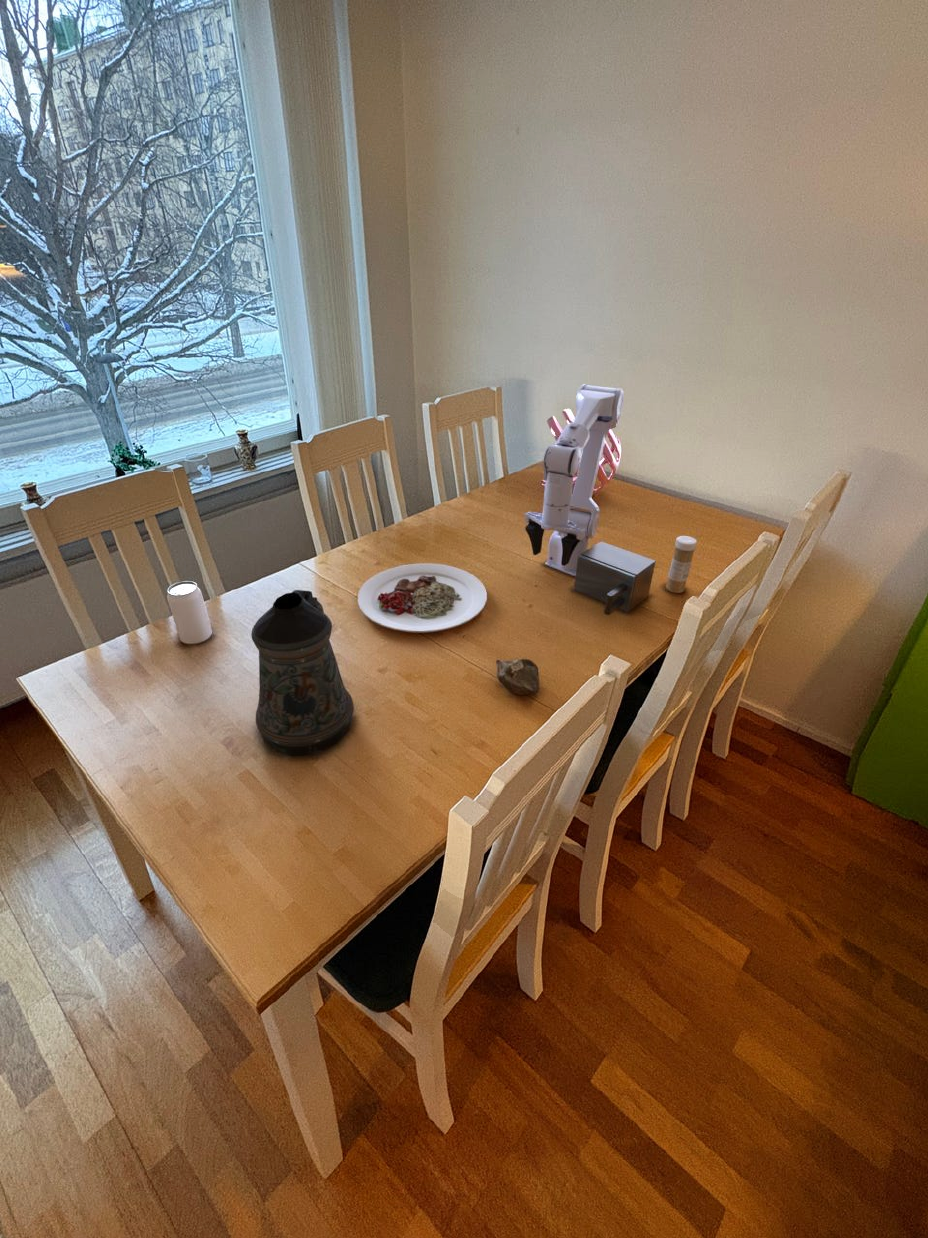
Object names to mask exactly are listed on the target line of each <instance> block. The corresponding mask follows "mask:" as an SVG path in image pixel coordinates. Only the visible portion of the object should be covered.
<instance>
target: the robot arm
mask: <svg viewBox="0 0 928 1238" xmlns="http://www.w3.org/2000/svg"><path fill="white" fill-rule="evenodd" d="M624 398H625V392H624V391H623V388H620V387H618V388H615V387H607V386H606V387H605V386H596V385H588V384H586V383H583V384H581V386H580V387H579V388H578V391H577V394H576V398H575V409H576V415H575V416H574V417H575V419H574V422H571V423H569V424H568V423H567V424H566V425H565V426H564V428H563V429H562V431H563V432H562V433H561V435H560V437H559V438H558V440H557V441H556V442H555V444H552V445H551V446H547V448H546V449H545V452H544V455H543V459H542V470H543V480H544V481H546V483H545V484H544V485H545V488H544V493H543V504H542V505H543V506H542V513H540V512H535V511H532V510H530V511H528V512H526V513H525V514H524V522H525V523H528V524H527V525H525V529H524V530H525V531H526V533H527V535H528V538H529V540H530V545H531V549H532V555H533V556H537V555H538V554H540V553H541V552H542V549H543V548H542V546H543V538H544V533H545V530H546V531H550V530H551V531H553V532H552V534H551V536H550V538H549V541H548V549H547V559H546V562H545V566H548V567H550V568H553V569H554V570H557V571H560V572H562V573H565V574H568V575H570V576H572V577H576V570H577V562H578V556H579V555H581V553H583V552H585V551H586V550H588V549H589V541H590V539H592V538H594V537H595V535H596V533H597V530H598V526H599V521H600V512H601V510H600V507H599V506H598V504H597V503H596V502H595V501H594V500H593V499H592V497H593V495H592V494H593V489H594V490H595V485H596V481H597V478H598V477H597V473H598V469H599V465H600V460H601V459H602V457H603V453H602V452H603V448H604V444H605V441H606V439H607V438H608V437H607V434H608V432H609V430H610V429H611V430H613V429H615V428H617V427H618V423H619V422H620V418H621V414H622V410H623V407H624ZM579 462H580V465H579ZM578 466H579V469H578ZM577 469H578V473H577V478H576V482H575V484H573V478H574V477H575V474H576V472H577ZM576 508H577V509H576ZM579 509H580V510H579Z"/></svg>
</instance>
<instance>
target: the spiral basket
mask: <svg viewBox="0 0 928 1238" xmlns="http://www.w3.org/2000/svg"><path fill="white" fill-rule="evenodd" d="M561 413H562V415H563V417H564V419H565V420H566V422H567V424H569V423H571V422H574V419H575V417H576V416H574V413H573V412H572V410H571V409H570V408H567V409H563V410H562V411H561ZM546 423H547V425H548V427H549V430H550V431H551V433H552V435H553V437H554V439H555V441H556V442H557V440H558V438H559V437H560V435H561V433H562V432H563V429H562V427H561V426H560V423H559V422H558V421H557V419H556V417H555V416H554V415H552V416H550V417H549V418H547V420H546ZM606 438H607V439H608V441H609V442H610V445H611V446H610V447H609V444H608V443H607V441H606V440H605V444H604V448H603V452H602V457H601V460H600V465H599V469H598V473H597V477H596V478H597V479H598V480H599V482H600V484H601V485H599V486H598V487H597V488H594V489H593V494H592V496H594V495H595V494H597V493H599V492H600V491H601V490H603V489H604V488H605V487H607V486H608V484H609V483H610V482H611V480H612V479H613V478H614V476H615V474H616V473H617V471H618V469H619V465H620V460H621V454H622V446H621V441H620V439H619V438H618V436H617V435H615V434H614V432H613V429H610V430H609V432H608V434H607V437H606ZM614 452H615V453H616V454H617V456H616V458H615V456H614ZM606 464H608V466H609V468H610V469H611V473H610V475H608V476H607V474H606V472H605V471H604V466H605V465H606ZM579 465H580V462H579ZM578 469H579V466H578ZM578 469H577V472H576V474H575V475H574V478H573V485H575V482H576V478H577V473H578ZM540 482H541V483H542V484H541V485H542V488H543V489H545V483H546V481H545V480H544V479H543V480H540Z"/></svg>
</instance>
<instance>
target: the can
mask: <svg viewBox="0 0 928 1238" xmlns="http://www.w3.org/2000/svg"><path fill="white" fill-rule="evenodd" d="M166 591H167V597H166V598H167V602H168V606H169V608H170V612H171V616H172V619H173V622H174V626H175V628H176V631H177V635H178V637H179V640H180V642H182V643H184V644H186V645H199V644H201V643H203V642H205V641H207V640H209V639H210V637H211V636H212V633H213V629H212V626H211V622H210V619H209V615H208V611H207V608H206V604H205V599H204V597H203V593H202V590H201V589H200V588H199V587H198V584H197V583H196V582H194V581H191V580H185V581H179V582H176V583H173V584H172V585H170V586H169V587H167V590H166Z"/></svg>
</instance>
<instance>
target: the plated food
mask: <svg viewBox="0 0 928 1238" xmlns="http://www.w3.org/2000/svg"><path fill="white" fill-rule="evenodd" d="M487 595H488V593H487V590H486V587H485V585H484V584H483V582H482V581H481V580H480V579H479V578H477V576H475V575H473V574H472V573H470V572H469V571H466V570H465V569H461V568H459V567H456V566H451V565H446V564H441V563H429V562H428V563H425V562H422V563H409V564H403V565H398V566H394V567H390V568H388V569H385V570H382V571H380V572H378V573H376V574H375V575H373V576H371V577H369V579H367V580H366V581H365V582H364V583H363V584H362V586H361V587H360V588H359V591H358V592H357V604H358V607H359V609H360V611H361V612H362V613H363V615H364V617H366V618H367V619H369V620H370V621H372V622H373V623H374V624H377V625H378V626H381V627H384V628H387V629H390V630H394V631H399V632H405V633H406V632H407V633H435V632H441V631H445V630H446V631H447V630H451V629H453V628H456V627H459V626H460V627H461V626H462V625H464V624H466V623H468V622H470V621H472V620H473V619H474V618H475V617H477V616H478V615H479V614H480V613H481V612H482V611H483V610H484V608H485V606H486V604H487V600H488V596H487Z"/></svg>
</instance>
